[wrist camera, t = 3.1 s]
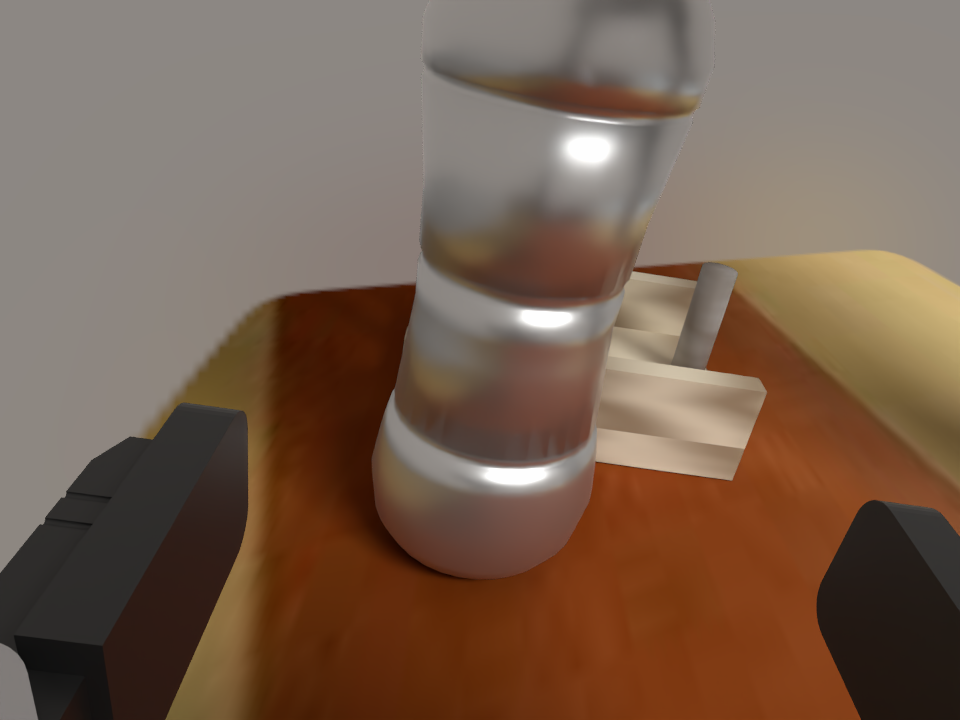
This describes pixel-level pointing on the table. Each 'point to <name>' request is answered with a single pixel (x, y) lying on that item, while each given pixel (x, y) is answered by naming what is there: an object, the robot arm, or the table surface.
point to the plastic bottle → (526, 262)
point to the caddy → (674, 380)
